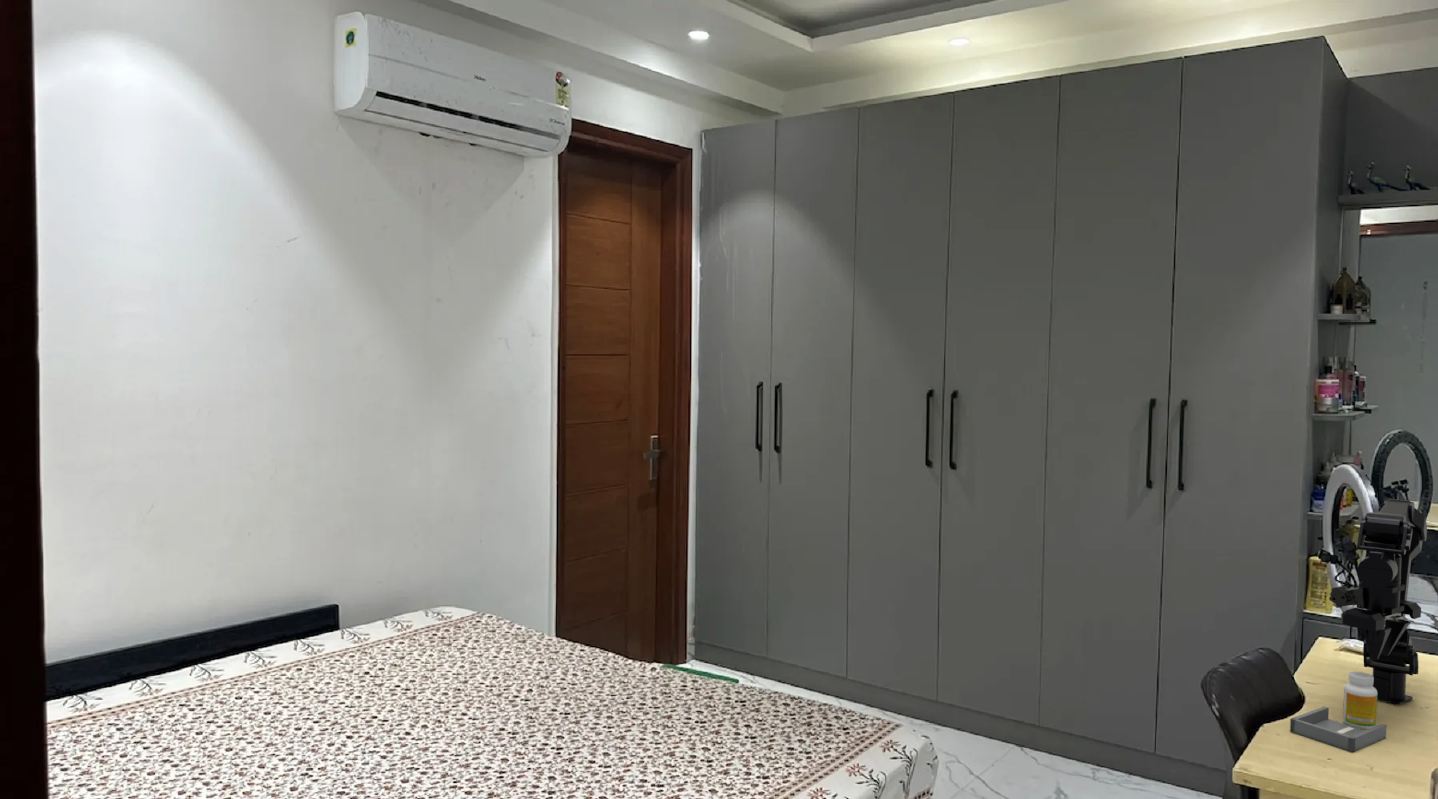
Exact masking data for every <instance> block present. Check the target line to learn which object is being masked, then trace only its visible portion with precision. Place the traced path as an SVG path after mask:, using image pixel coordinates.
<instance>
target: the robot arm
mask: <svg viewBox="0 0 1438 799" xmlns="http://www.w3.org/2000/svg"><path fill="white" fill-rule="evenodd" d="M1383 501H1384V502H1383V506H1382V507H1381V509H1380V510H1379V511H1378V512H1374V511H1373V512H1370V511H1369V512H1366V514H1365V516H1364V517H1362V518H1361V520H1360V524H1359V530H1358V536H1357V544H1356V550H1361V551H1365V557H1364V558H1363V559H1362V560H1361V561H1360V562H1359V563H1358V565H1357V568H1356V575H1357V577H1358V579H1359V581H1360V582H1359V583H1358V587H1354V588H1353V587H1352V588H1345V586H1342V585H1341V586H1338V587H1337V586H1336V587H1332V588H1331V590H1330V592H1329V596H1330V597H1329V599H1328V600H1329V601H1330V602H1332V603H1333V604H1334V605H1335V607H1336V608H1337V609H1338V608H1339V609H1340V608H1343V607H1348V606H1356V607H1353V608H1349V609H1346V610H1344V611H1343V612H1342V613H1341V615H1340V624H1342V625H1344V626H1345V625H1346V626H1349V627H1352V628H1357V629H1358V630H1360V631H1361V633H1362V634H1363V638H1364V641H1363V646H1362V648H1363V650H1362V651H1363V652H1362V654H1363V667H1364V668H1372V676H1373V677H1374V682H1373V685H1372V686H1373V687H1374V688H1375V689H1376V690H1377V701H1378V700H1379V701H1382V702H1386V703H1389V704H1392V705H1402V704H1405V703H1408V702H1410V701H1412V700H1413V699H1414V697H1413V696H1411V695H1407V694H1406V687H1407V675H1409V676H1412V677H1413V676H1414V675H1419V666H1420V664H1419V654H1418V653H1417V651H1416V649H1415V645H1412V643H1413V642H1412V638H1411V635H1410V633H1409V631H1408V630H1407V628H1408V626H1409V625H1411V623H1412V622H1411V620H1408V619H1405V618H1406V615H1407V616H1409V617H1410V618H1411V619H1413V620H1416V619H1419V618H1421V617H1422V607H1421V606H1420V605H1419V604H1418V603H1417V602H1415V601H1410V600H1408V594H1409V584H1410V574H1411V565H1412V564H1411V563H1412V561H1413V559H1414V558H1416V557H1417V556H1418V555H1419V554H1420V553H1421V552H1422V548H1423V542H1426V541H1427V535H1428V526H1427V517H1426V515H1425V514H1423V513H1422V512H1420V510H1418V509H1417V508H1416V507H1415V502H1413V501H1411V500H1409V499H1408V500H1405V499H1396V498H1388V499H1384V500H1383Z"/></svg>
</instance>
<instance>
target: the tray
mask: <svg viewBox="0 0 1438 799" xmlns="http://www.w3.org/2000/svg"><path fill="white" fill-rule="evenodd" d="M1289 728H1290V729H1289V732H1290V733H1293V734H1296V735H1299V736H1302V737H1305V738H1308V739H1310V740H1314V741H1317V742H1321V743H1323V744H1326V745H1329V746H1331V747H1335V748H1337V749H1341V750H1344V751H1347V752H1349V753H1354V752H1357V751H1359V750H1362V749H1364V748H1366V747H1369V746H1371V745H1373V744H1376V743H1378V742H1381V741H1383V740H1385V739H1387V724H1385V723H1380V724H1378V725H1377V724H1376V726H1375V727H1372V728H1370V729H1360V728H1356V727H1353V726H1350V725H1347V724H1346V723H1344V722H1339V721H1337V720H1333V719H1330V718H1329V707H1327V706H1321V707H1319V708H1316V709H1314V710H1310V711H1308V712H1305V713H1302V714H1300V715H1299V714H1298V715H1297V716H1294V717H1292V718H1290V725H1289Z"/></svg>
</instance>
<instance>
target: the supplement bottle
mask: <svg viewBox="0 0 1438 799" xmlns="http://www.w3.org/2000/svg"><path fill="white" fill-rule="evenodd" d="M1348 681H1349V682H1348V683H1345V684H1344V686H1343V687H1344V688H1343V707H1342V720H1343V723H1344V724H1347V725H1350V726H1353V727H1356V728H1360V729H1363V730H1367V729H1370V728H1372V727H1375V726H1377V719H1378V718H1377V716H1378V715H1377V714H1378V712H1377V711H1378V699H1377V690H1376V689H1375V688H1374V687H1373V686H1372V685H1373V682H1374V677H1373V674H1372V675H1371V674H1370V673H1367V672H1362V671H1350V672H1349V673H1348Z"/></svg>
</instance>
